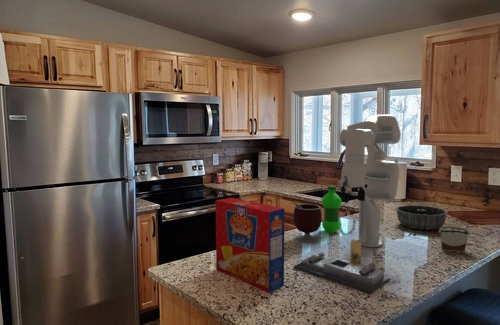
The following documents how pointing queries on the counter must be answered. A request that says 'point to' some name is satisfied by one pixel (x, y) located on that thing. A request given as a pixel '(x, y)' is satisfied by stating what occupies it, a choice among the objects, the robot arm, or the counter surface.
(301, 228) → the mate gourd
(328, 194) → the plastic bottle
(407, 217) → the bundt pan
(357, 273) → the gray slotted panel
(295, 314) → the counter surface
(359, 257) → the brass pin
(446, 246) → the food container
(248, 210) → the pasta box
